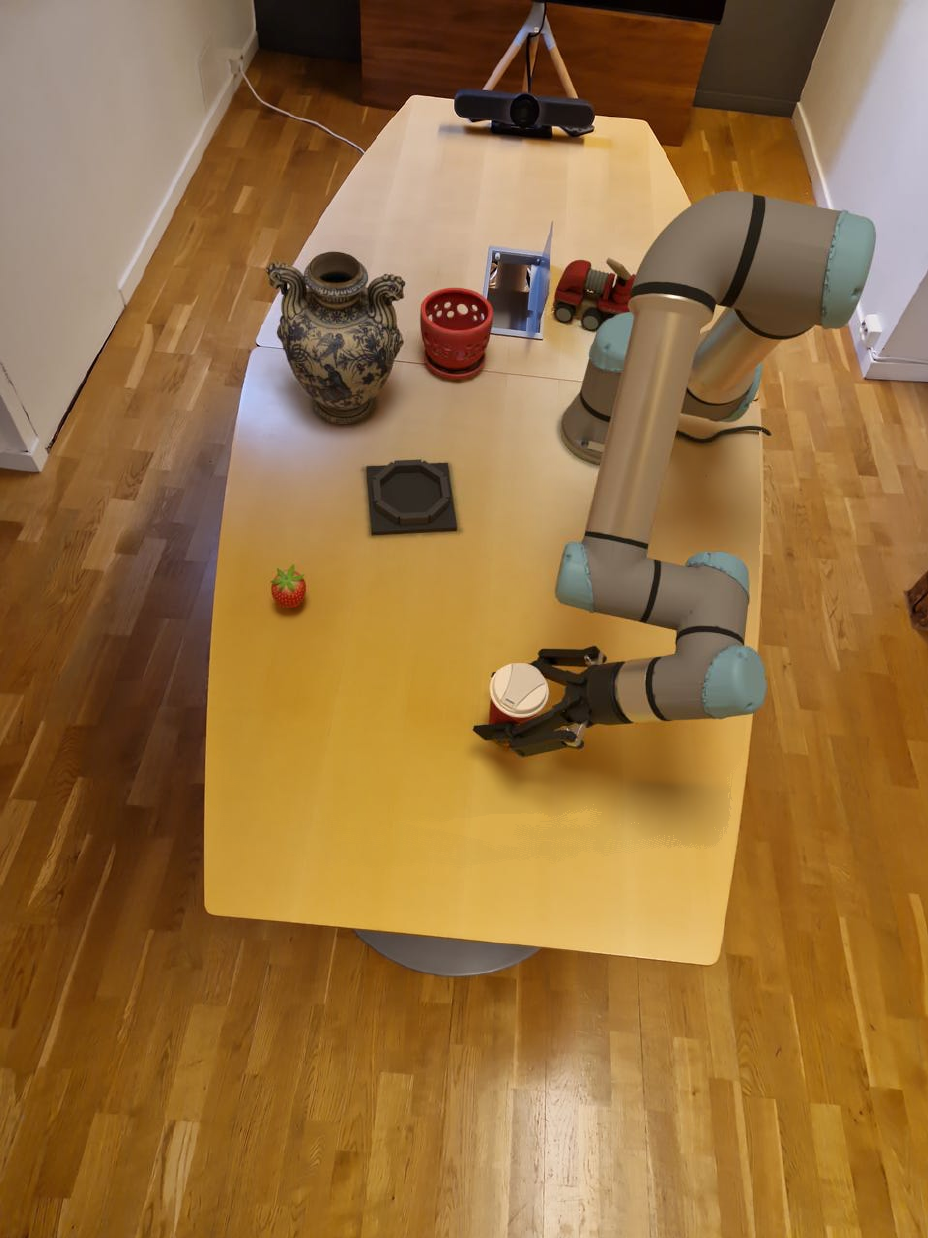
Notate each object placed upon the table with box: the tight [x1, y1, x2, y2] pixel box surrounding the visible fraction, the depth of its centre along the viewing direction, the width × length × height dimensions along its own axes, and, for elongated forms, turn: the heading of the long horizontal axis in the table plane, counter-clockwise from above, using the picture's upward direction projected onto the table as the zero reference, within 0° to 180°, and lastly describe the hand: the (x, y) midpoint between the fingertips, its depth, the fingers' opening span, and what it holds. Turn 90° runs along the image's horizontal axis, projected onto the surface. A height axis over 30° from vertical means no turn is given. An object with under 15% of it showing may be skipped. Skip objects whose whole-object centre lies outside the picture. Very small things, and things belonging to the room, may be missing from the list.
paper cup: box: [488, 662, 550, 747], centre depth 110 cm, size 8×8×14 cm
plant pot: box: [419, 287, 494, 380], centre depth 150 cm, size 13×13×12 cm
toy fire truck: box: [552, 257, 636, 332], centre depth 156 cm, size 11×16×18 cm
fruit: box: [270, 563, 307, 608], centre depth 122 cm, size 5×5×8 cm
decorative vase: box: [265, 251, 406, 425], centre depth 135 cm, size 21×19×28 cm
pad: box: [365, 459, 458, 536], centre depth 136 cm, size 14×14×3 cm
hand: (488, 705), depth 112 cm, fingers closed on paper cup, 8 cm apart
